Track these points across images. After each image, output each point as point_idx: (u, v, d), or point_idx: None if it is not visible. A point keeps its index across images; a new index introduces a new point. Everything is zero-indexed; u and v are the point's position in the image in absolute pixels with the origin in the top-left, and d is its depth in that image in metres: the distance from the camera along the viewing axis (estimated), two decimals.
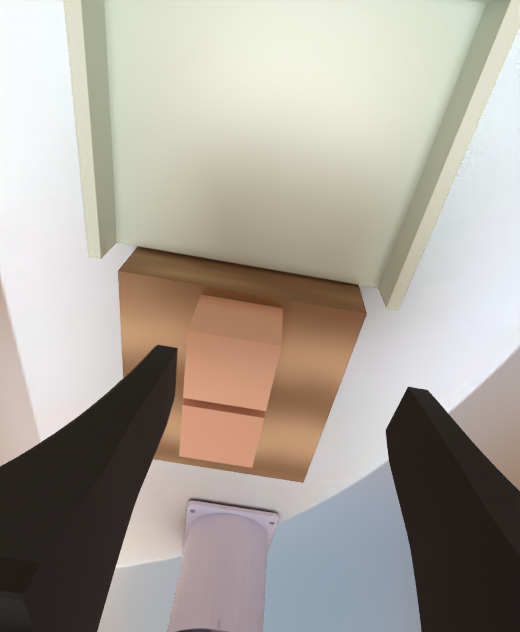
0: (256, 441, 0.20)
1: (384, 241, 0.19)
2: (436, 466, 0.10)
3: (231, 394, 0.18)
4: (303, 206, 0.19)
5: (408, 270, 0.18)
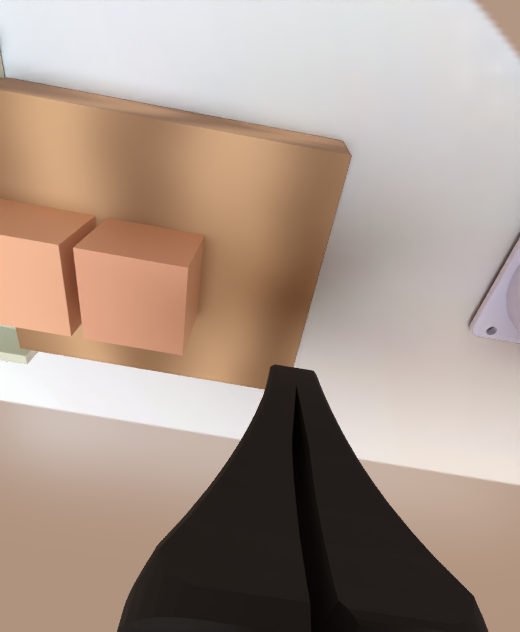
0: (124, 259, 0.14)
1: None
2: (298, 444, 0.10)
3: (44, 285, 0.14)
4: None
5: None
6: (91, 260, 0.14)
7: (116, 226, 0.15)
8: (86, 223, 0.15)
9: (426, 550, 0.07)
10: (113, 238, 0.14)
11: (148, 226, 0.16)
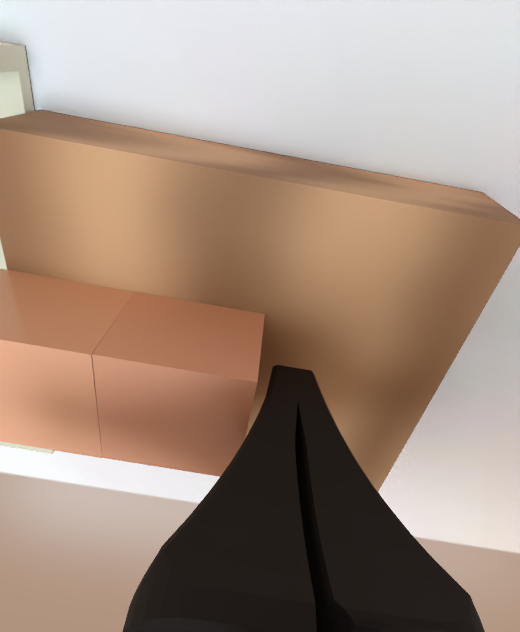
0: (166, 370, 0.09)
1: None
2: (296, 443, 0.10)
3: (68, 401, 0.10)
4: None
5: None
6: (118, 370, 0.10)
7: (148, 307, 0.11)
8: None
9: (422, 549, 0.07)
10: (146, 330, 0.10)
11: (190, 303, 0.12)
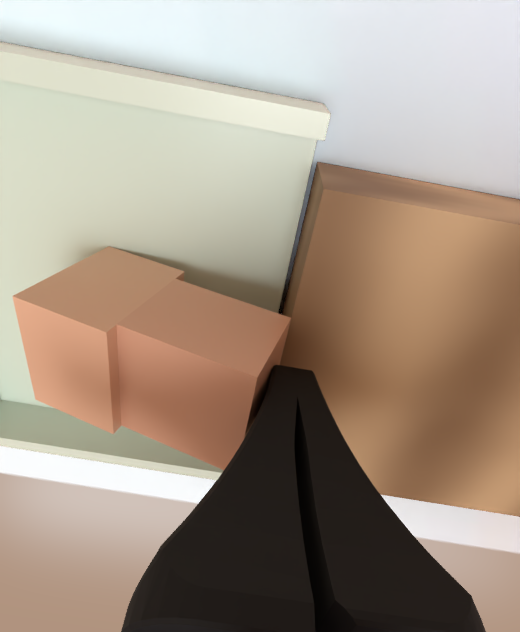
0: (176, 350, 0.10)
1: (228, 133, 0.11)
2: (296, 443, 0.10)
3: None
4: (187, 258, 0.14)
5: (239, 110, 0.09)
6: (136, 343, 0.10)
7: (181, 293, 0.12)
8: (80, 323, 0.10)
9: (424, 550, 0.07)
10: (172, 313, 0.11)
11: (221, 296, 0.12)
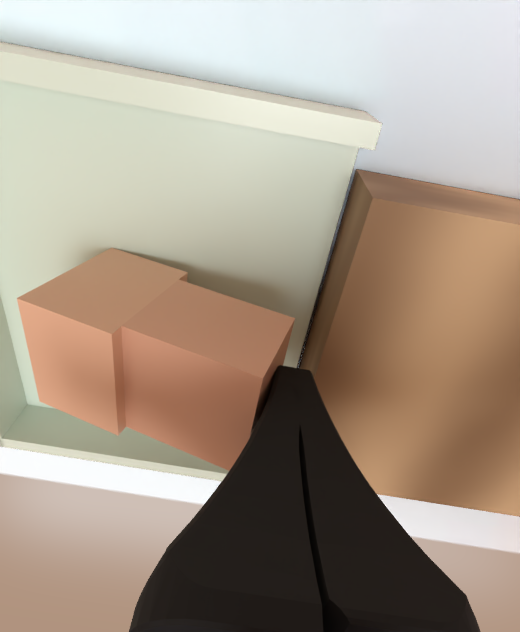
0: (181, 351, 0.10)
1: (270, 141, 0.12)
2: None
3: None
4: (221, 264, 0.14)
5: (290, 120, 0.09)
6: (141, 344, 0.10)
7: (185, 294, 0.12)
8: (85, 325, 0.10)
9: (419, 549, 0.06)
10: (176, 314, 0.11)
11: (225, 297, 0.12)
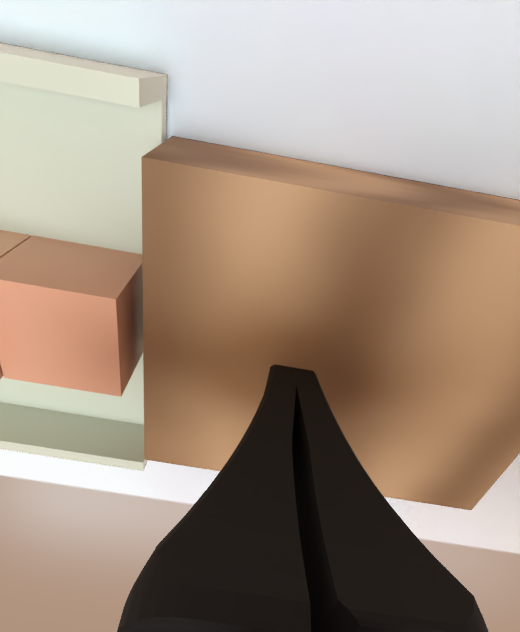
0: (39, 289, 0.11)
1: (72, 105, 0.11)
2: (298, 444, 0.10)
3: None
4: (57, 237, 0.14)
5: (47, 75, 0.09)
6: (0, 290, 0.11)
7: (40, 246, 0.13)
8: None
9: (426, 550, 0.07)
10: (32, 262, 0.12)
11: (81, 245, 0.14)
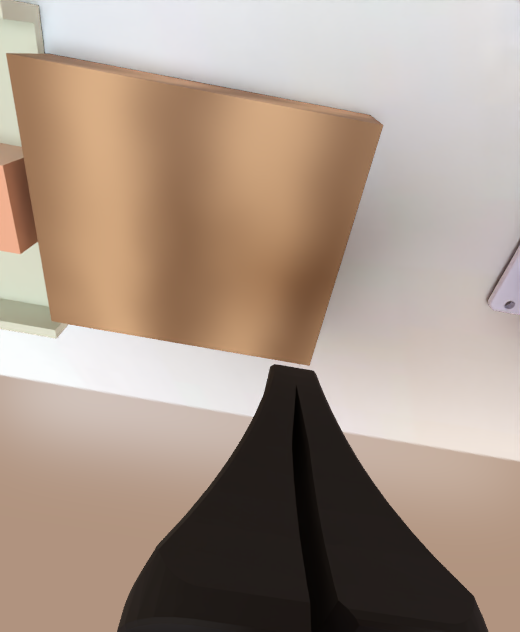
0: None
1: None
2: (298, 444, 0.10)
3: None
4: None
5: None
6: None
7: None
8: None
9: (426, 550, 0.07)
10: None
11: None
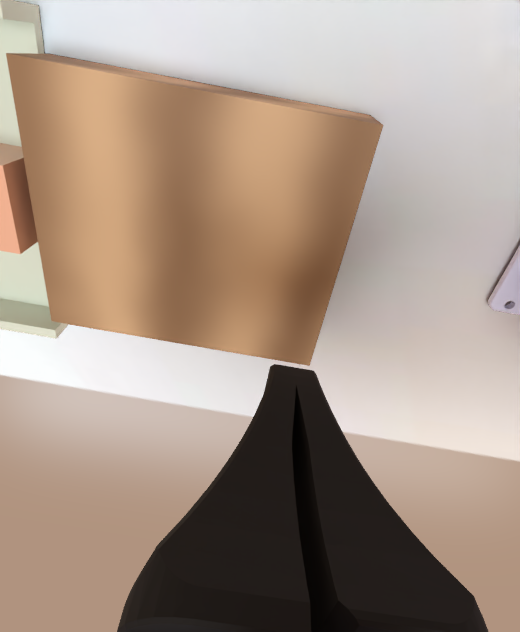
0: None
1: None
2: (298, 444, 0.10)
3: None
4: None
5: None
6: None
7: None
8: None
9: (426, 550, 0.07)
10: None
11: None
